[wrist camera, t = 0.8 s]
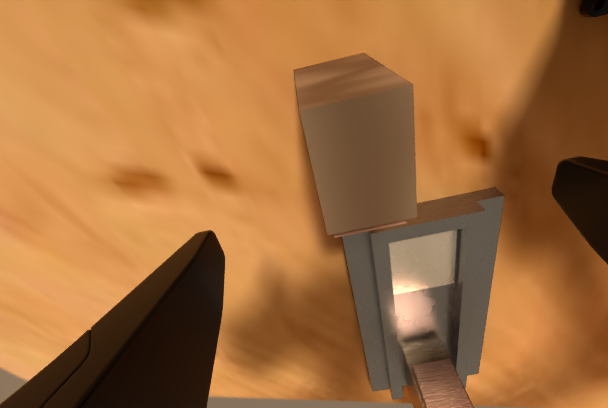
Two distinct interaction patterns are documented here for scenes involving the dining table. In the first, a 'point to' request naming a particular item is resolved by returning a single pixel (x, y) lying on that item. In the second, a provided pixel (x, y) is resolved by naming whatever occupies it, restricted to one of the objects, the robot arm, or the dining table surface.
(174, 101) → the dining table surface
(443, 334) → the rail
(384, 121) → the tan wooden block
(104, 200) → the dining table surface
